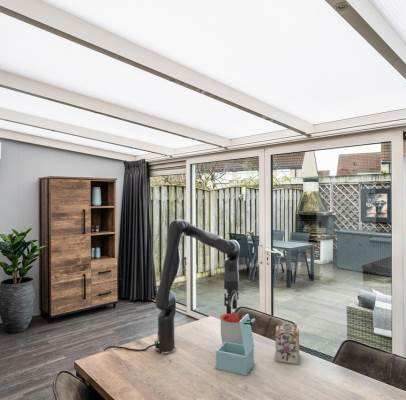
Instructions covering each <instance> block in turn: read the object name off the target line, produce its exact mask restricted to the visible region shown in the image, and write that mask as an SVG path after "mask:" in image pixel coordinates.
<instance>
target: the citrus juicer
mask: <svg viewBox="0 0 406 400" xmlns="http://www.w3.org/2000/svg"><path fill="white" fill-rule="evenodd" d="M245 315H246V314H242V315H241V316H240V317H239V315H238V314H237V313H236V312H235V311H233V312H232V311H231V314H227V313H223V314H221V315H220V316H219V319H220V339H221V342H222V344H223V343H224V342H230V343H235V344H240V345H243V340H242V335H241V329H240V323H239V321H240V320H241V319H242V318H243V317H244V316H245Z"/></svg>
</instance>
